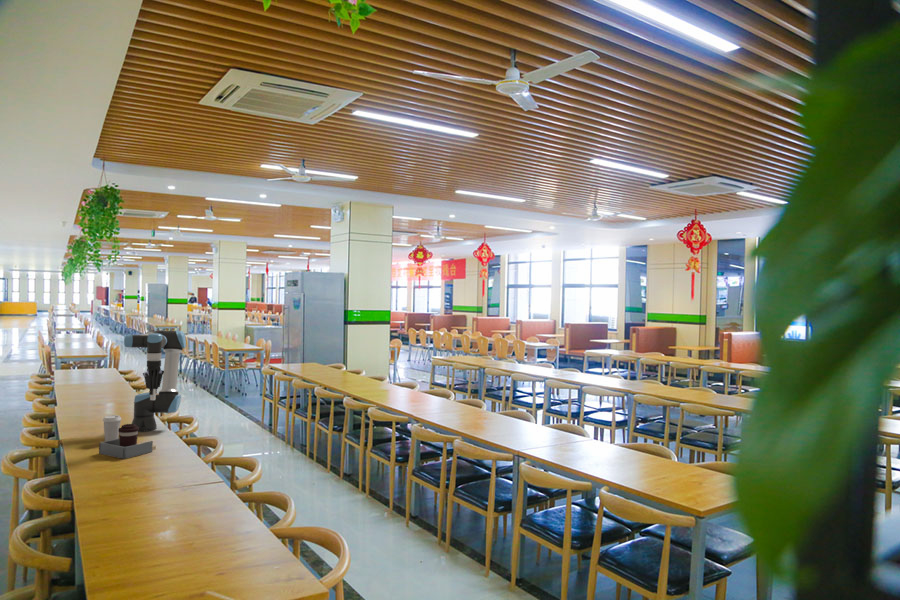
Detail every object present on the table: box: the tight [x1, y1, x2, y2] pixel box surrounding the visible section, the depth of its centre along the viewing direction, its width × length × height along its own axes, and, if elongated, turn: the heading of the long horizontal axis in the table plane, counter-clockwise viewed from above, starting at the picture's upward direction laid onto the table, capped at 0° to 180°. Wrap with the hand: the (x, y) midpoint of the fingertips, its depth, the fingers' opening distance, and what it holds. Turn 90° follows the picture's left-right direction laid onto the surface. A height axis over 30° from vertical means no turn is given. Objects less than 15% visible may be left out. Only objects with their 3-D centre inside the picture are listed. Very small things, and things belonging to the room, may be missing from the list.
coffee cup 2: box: [118, 423, 139, 447], centre depth 318 cm, size 10×10×15 cm
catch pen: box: [98, 438, 154, 460], centre depth 317 cm, size 17×20×6 cm
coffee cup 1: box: [102, 414, 122, 442], centre depth 337 cm, size 10×10×15 cm
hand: (152, 399), depth 338 cm, fingers closed
